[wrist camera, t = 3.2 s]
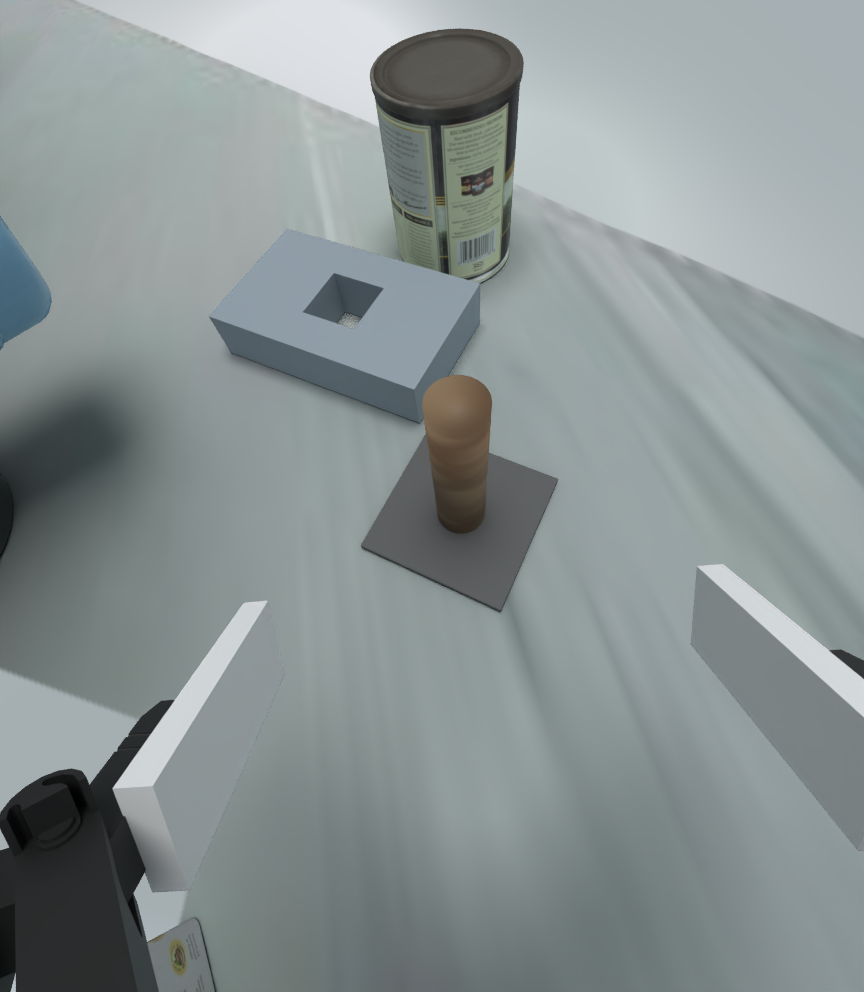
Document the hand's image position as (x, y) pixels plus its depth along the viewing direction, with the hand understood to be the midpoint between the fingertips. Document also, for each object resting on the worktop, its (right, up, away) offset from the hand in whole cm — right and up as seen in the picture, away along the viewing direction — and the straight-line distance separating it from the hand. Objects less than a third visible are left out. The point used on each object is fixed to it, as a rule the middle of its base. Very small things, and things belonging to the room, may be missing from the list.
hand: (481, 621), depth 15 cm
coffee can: (0, +26, +31) cm, 40 cm away
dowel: (0, +3, +18) cm, 18 cm away
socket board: (-8, +17, +26) cm, 33 cm away
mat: (0, +3, +19) cm, 19 cm away
